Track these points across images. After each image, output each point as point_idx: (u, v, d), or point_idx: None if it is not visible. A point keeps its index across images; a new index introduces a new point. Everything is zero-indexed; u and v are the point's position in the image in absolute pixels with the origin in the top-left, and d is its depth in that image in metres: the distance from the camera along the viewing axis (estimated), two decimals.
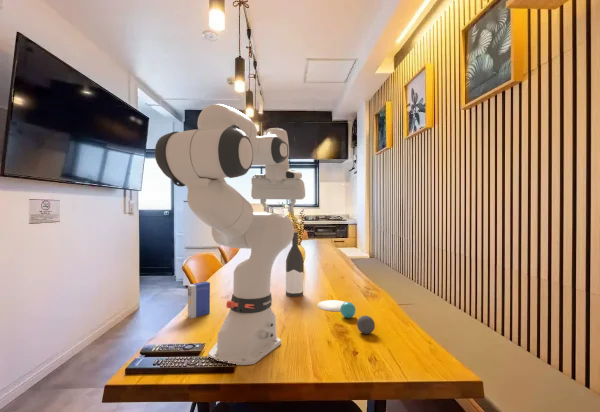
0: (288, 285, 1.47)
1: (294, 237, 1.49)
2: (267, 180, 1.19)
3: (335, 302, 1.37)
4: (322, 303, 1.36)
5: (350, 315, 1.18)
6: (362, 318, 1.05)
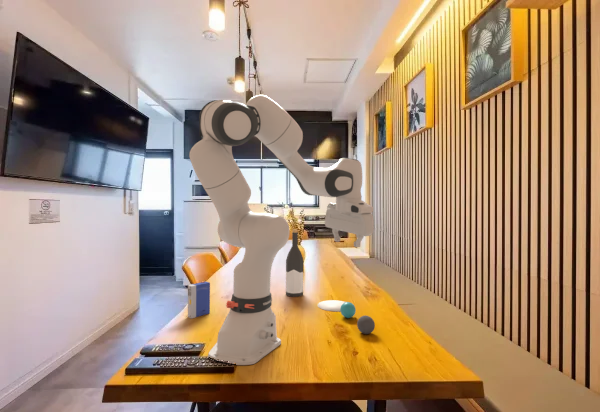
0: (288, 285, 1.47)
1: (294, 237, 1.49)
2: (337, 210, 1.16)
3: (335, 302, 1.37)
4: (322, 303, 1.36)
5: (350, 315, 1.18)
6: (362, 318, 1.05)
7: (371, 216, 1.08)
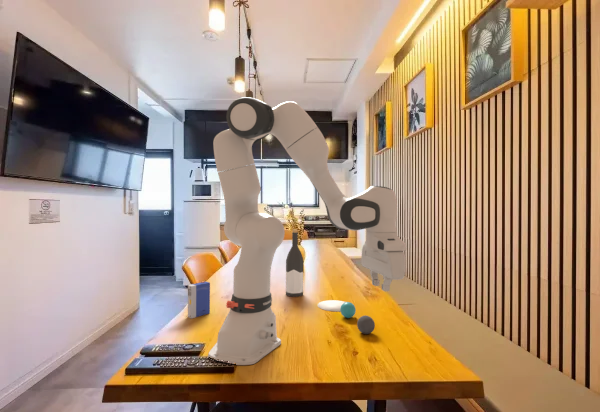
0: (288, 285, 1.47)
1: (294, 237, 1.49)
2: (370, 247, 0.99)
3: (335, 302, 1.37)
4: (322, 303, 1.36)
5: (350, 315, 1.18)
6: (362, 318, 1.05)
7: (402, 255, 0.88)
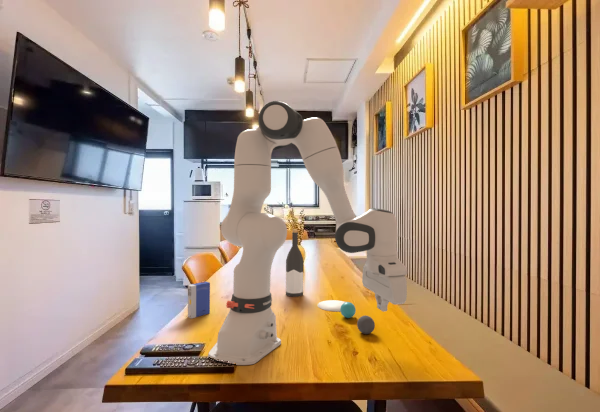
0: (288, 285, 1.47)
1: (294, 237, 1.49)
2: None
3: (335, 302, 1.37)
4: (322, 303, 1.36)
5: (350, 315, 1.18)
6: (362, 318, 1.05)
7: (403, 280, 0.88)
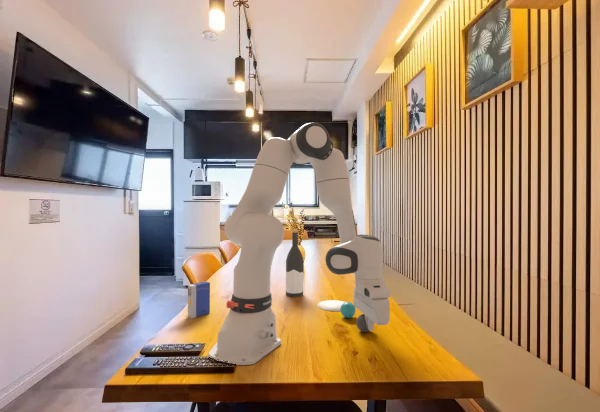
0: (288, 285, 1.47)
1: (294, 237, 1.49)
2: None
3: (335, 302, 1.37)
4: (322, 303, 1.36)
5: (350, 315, 1.18)
6: (361, 316, 1.07)
7: (386, 302, 0.95)
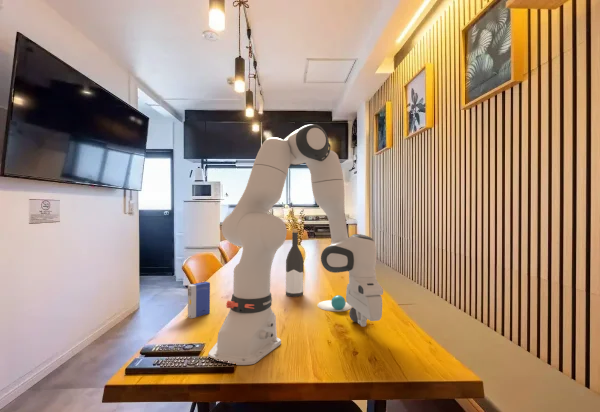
0: (288, 285, 1.47)
1: (294, 237, 1.49)
2: None
3: None
4: (322, 303, 1.36)
5: None
6: None
7: (379, 299, 1.00)
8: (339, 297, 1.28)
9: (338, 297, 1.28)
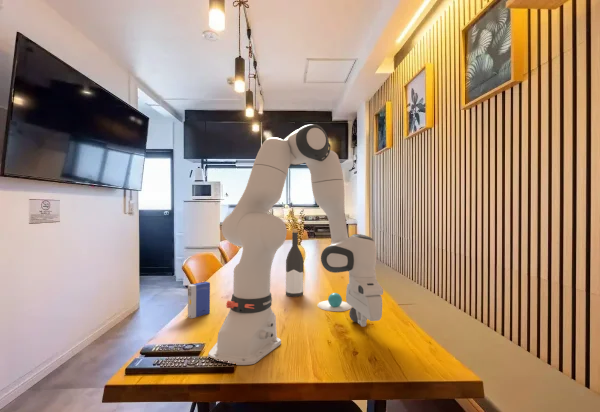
0: (288, 285, 1.47)
1: (294, 237, 1.49)
2: None
3: None
4: (322, 303, 1.36)
5: None
6: None
7: (379, 299, 1.00)
8: None
9: None
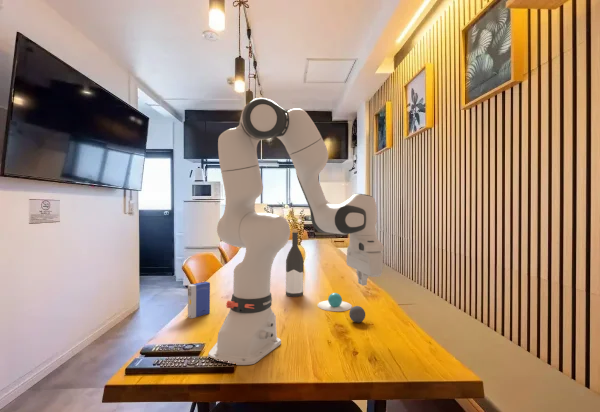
0: (288, 285, 1.47)
1: (294, 237, 1.49)
2: (353, 248, 1.11)
3: None
4: (322, 303, 1.36)
5: None
6: None
7: (380, 255, 1.00)
8: None
9: None
